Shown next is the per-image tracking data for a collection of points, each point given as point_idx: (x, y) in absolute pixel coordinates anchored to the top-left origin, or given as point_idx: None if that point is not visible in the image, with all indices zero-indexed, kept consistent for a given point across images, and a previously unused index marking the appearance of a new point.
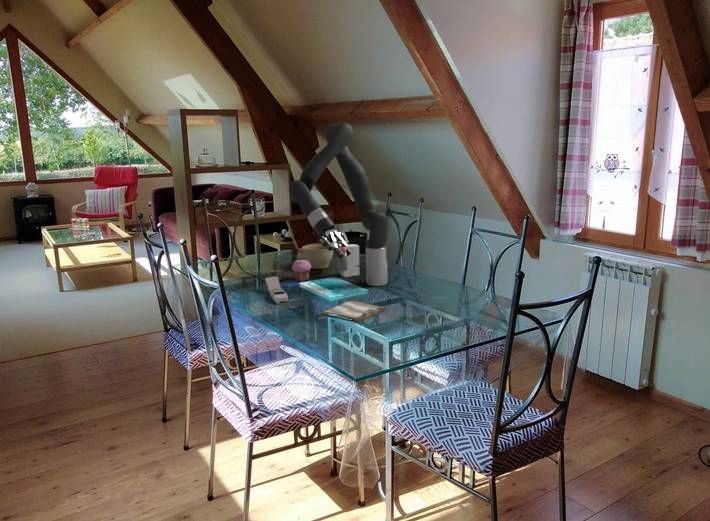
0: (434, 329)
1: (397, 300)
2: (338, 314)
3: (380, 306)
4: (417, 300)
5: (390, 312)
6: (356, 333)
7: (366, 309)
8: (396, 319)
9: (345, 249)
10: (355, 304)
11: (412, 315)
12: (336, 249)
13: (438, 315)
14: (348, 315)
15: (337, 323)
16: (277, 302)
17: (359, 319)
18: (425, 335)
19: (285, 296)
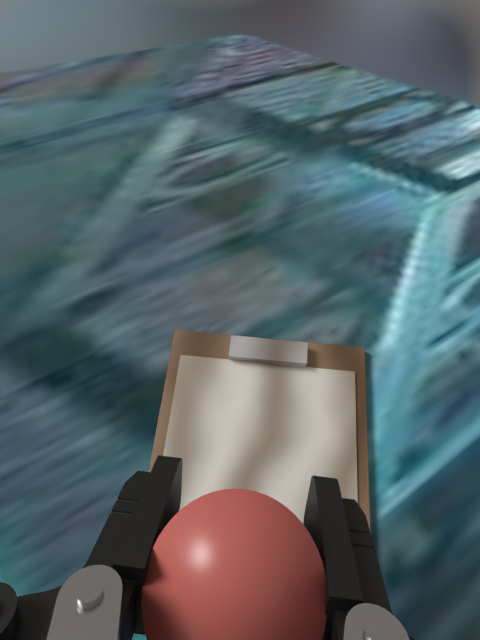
0: (289, 140)
1: (43, 348)
2: (357, 467)
3: (170, 357)
4: (24, 281)
5: (202, 304)
6: (458, 304)
7: (237, 387)
8: (263, 255)
9: (246, 490)
10: (193, 474)
11: (201, 230)
12: (387, 601)
13: (168, 169)
14: (345, 415)
15: (422, 423)
16: None
17: (355, 352)
18: (344, 142)
19: None
